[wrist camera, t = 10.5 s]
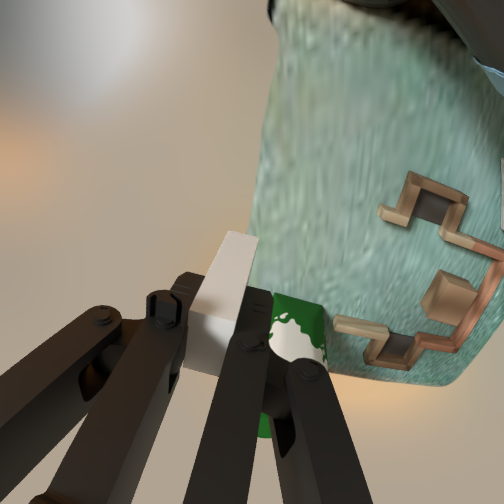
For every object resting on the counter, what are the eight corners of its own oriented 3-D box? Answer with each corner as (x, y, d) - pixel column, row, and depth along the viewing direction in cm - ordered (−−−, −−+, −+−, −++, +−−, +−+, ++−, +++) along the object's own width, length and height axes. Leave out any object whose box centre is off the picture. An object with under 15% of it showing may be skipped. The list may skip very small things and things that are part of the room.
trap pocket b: (376, 329, 46) (379, 339, 44) (420, 338, 46) (424, 348, 44) (362, 353, 48) (364, 364, 46) (405, 360, 48) (408, 371, 46)
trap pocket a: (408, 170, 36) (415, 174, 33) (460, 191, 36) (469, 197, 33) (395, 208, 38) (401, 215, 36) (447, 227, 38) (454, 234, 36)
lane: (379, 203, 38) (384, 209, 36) (503, 249, 38) (511, 256, 35) (332, 319, 46) (334, 330, 44) (451, 343, 46) (456, 353, 44)
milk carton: (270, 285, 45) (252, 399, 27) (331, 302, 45) (344, 417, 27) (253, 331, 49) (232, 442, 31) (309, 346, 49) (309, 457, 31)
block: (438, 268, 41) (448, 282, 37) (466, 279, 41) (477, 293, 37) (419, 302, 44) (427, 317, 40) (448, 311, 44) (456, 326, 40)
